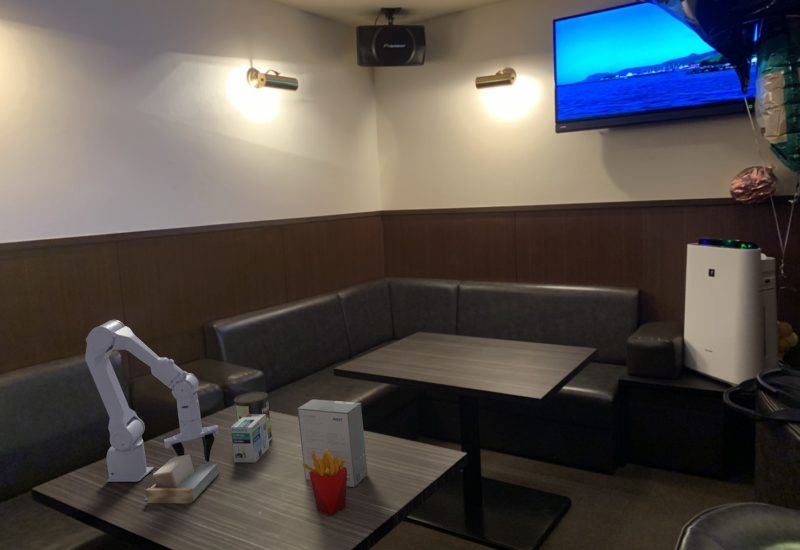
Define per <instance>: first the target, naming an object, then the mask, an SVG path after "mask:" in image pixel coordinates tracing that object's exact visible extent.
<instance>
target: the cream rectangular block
mask: <svg viewBox="0 0 800 550" xmlns="http://www.w3.org/2000/svg"><path fill="white" fill-rule="evenodd" d="M192 461H193V460H192V458H191V454H190V453H188V454H184V455H183V456H178V455H176V456H173V457H172V458H170V459H169V460H167V462H165V463H164V464H163V465H161V467H160V468H159V469H157V470H156V471H155V472H153V474H152V475H153V480H154V484H156V487H157V488H178V487H179V486H180V485H181V484H182V483H183V482H184V481H185V480H186V479H187V478H188V477H189V476H190V475H192V474H193V473H194V472H195V471H196V470H195V469H194V465H193V462H192Z"/></svg>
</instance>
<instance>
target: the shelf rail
mask: <svg viewBox="0 0 800 550" xmlns="http://www.w3.org/2000/svg"><path fill="white" fill-rule="evenodd" d="M145 495H146V496H145V498H147V501H146V503H147V504H192V503H194V501H195V500H193V492H192V488H151V487H147V488H146V489H145Z"/></svg>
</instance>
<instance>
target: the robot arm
mask: <svg viewBox="0 0 800 550" xmlns="http://www.w3.org/2000/svg"><path fill="white" fill-rule="evenodd" d="M85 342H86V349H85V355H84V356H85V358H84V359H85V362H86V365H87V367H88V370H89V372H90V374H91V376H92V379H93V382H94V383H95V386H96V388H97V391H98V394H99V395H100V398H101V400H102V403H103V406H104V407H105V410H106V412H107V414H108V417H109V421H108V427H107V429H108V431H109V443H110V445H111V446H110V447H109V449H108V450H107V453H106V465H107V472H108V479H107V482H109V483H111V482H115V483H117V482H118V483H119V482H120V483H121V482H122V483H123V482H124V483H126V482H127V483H128V482H133V483H134V482H136V483H137V482H140V481H141V480H142V479H143V478H145V477H146V476H147V475H148V474H150V472H152V471H153V470H154V469H155V468H154V466H147V459H146V458H147V457H146V452H145V445H144V444H145V443H144V440H143V436H142V435H143V434H144V432H145V429H146V428H145V427H146V426H145V422H144V421H143V420H142V419H141V418H139V416H138V415H137V412H136V411H135V410H133V409H132V408H130V406H129V404H128V401H127V398H126V397H125V394H124V392H123V389H122V386H121V384H120V381H119V379H118V377H117V375H116V372H115V370H114V367H113V364H112V362H111V361H110V355H111V354H112V352H113V351H127V352H129V353H130V354H132V355H133V356H135V357H136V358H137V359H138V360H140V361H141V362H142V363H144V364H146V365H147V366H148V367H150V371H151V372H150V373H151V375H152V376H154V377H155V378H156V379H158V380H159V381H160V382H161V383H162V384H164V385H165V386H166V387H168V388H169V389H170V390H171V394H172V396H173V398H174V399H176V406H177V415H178V422H179V430H180V433H177V434H175V435H173V436H171V437H167V438H165V439H163V442H164V447H165V448H166V449H168V448H171V447H172V449H173V450H174V452H175V453H176V456H183V455H185V447H184V446H183V443H186V442H190V441H193V440H197V439H201V440H202V446H203V447H202V448H203V455H204V460H205V461H206V463H207V462H208V463H210V456H211V450H212V447H213V444H214V442H215V436H214V435H219V434H220V431H219V429H220V428H219V426H218V425H217V424H215V425H211V426H204V427H202V426H203V425H202V418H201V409H200V403H199V402H200V401H199V396H198V388H199V385H200V382H199V379H198V377H197V376H195V374H194V373H190V372H189V373H188V371H186V370H182V369H181V368H180V367H179V366H178V365H177V364H176V363H175V360H173V358H170V359H169V358H168V357H160V356H158V354H157V353H155V352H154V351H153V350H152V349H151V348H150V347H148V345H146V344H145V343H144V342H143V341H142V340H141V339H140V338H139V337H137V335H135V333H134V332H133V331H132V329H131V328H130V327H129V326H126V325H125V324H124V323H123V322H122V321H120V320H117V319H111V320H108V321H106V322H104V323H103V324H100V325H99V326H96V327H94V328H93V329H91V330H90V332H89V333H88V335H87V337H86V338H85Z"/></svg>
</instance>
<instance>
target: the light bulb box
mask: <svg viewBox="0 0 800 550" xmlns="http://www.w3.org/2000/svg"><path fill="white" fill-rule="evenodd" d="M230 431H231V432H230V433H231V441H232V451H233V458H234V463H249V464H250V463H252V464H253V463H254V464H255V463H257V462H258V460H260V459H261V457H263V455H264V454H265V453H266V452H267V451H268V450H269V449H270V441H269V439H268V430H267V421H266V414H245V415H244V416H243V417H242V418H241V419H240V420H239V421H238V422H237V421H236V422H235V423H234V424H233V425H232V426H230Z"/></svg>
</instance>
